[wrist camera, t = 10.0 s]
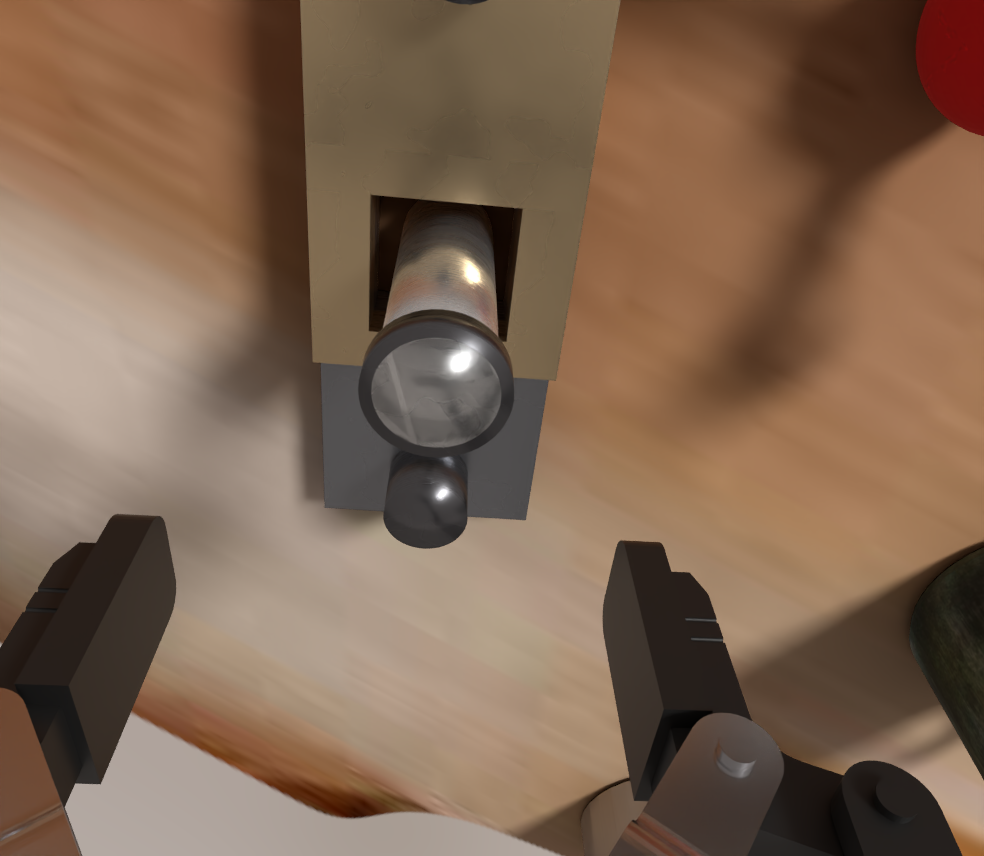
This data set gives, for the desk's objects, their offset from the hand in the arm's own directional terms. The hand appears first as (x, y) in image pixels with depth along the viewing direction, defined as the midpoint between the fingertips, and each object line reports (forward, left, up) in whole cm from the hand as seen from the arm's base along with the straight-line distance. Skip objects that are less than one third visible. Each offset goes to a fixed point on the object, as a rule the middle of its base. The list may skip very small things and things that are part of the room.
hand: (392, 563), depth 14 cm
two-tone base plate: (0, -1, -15) cm, 15 cm away
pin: (0, -1, -15) cm, 15 cm away
